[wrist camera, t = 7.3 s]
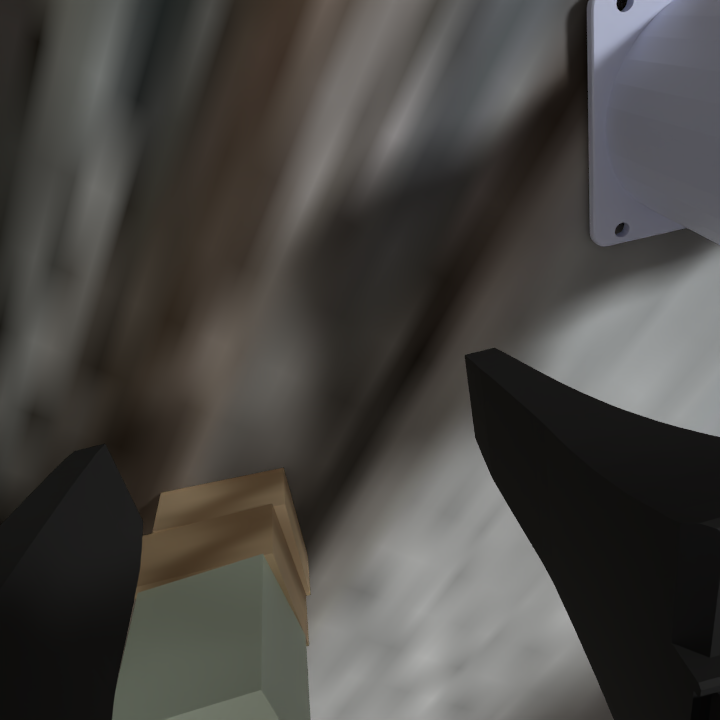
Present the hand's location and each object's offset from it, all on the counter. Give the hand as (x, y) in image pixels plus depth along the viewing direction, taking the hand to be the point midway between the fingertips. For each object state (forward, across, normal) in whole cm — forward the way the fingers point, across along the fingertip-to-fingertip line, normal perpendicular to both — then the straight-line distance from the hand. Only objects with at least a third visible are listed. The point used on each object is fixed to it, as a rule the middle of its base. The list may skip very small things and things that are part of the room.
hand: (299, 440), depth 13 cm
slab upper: (+8, +5, +11) cm, 15 cm away
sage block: (+6, +5, +11) cm, 13 cm away
